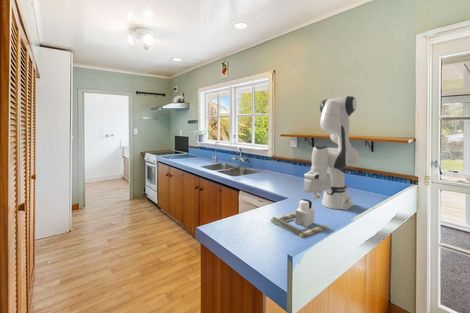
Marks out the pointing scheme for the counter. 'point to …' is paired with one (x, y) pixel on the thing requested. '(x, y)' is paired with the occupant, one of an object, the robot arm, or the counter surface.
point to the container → (304, 213)
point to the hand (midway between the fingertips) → (317, 198)
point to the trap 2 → (306, 229)
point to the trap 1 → (288, 220)
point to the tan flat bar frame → (292, 228)
